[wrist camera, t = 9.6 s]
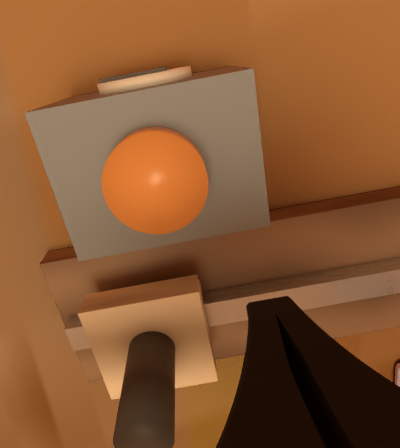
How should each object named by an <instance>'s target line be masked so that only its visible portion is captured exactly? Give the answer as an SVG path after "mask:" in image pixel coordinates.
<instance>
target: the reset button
mask: <svg viewBox="0 0 400 448" xmlns="http://www.w3.org/2000/svg"><path fill="white" fill-rule="evenodd" d="M101 183H102V191H103V196H104V199H105V201H106V203H107V205H108V207H109V209H110V210H111V212H112V213H113V214H114V215H115V216H116V218H117V219H118V220H120V221H121V222H122V223H123V224H125V225H126V226H128V227H130V228H132V229H134V230H136V231H139V232H142V233H147V234H167V233H171V232H174V231H177V230H179V229H181V228H183V227H185V226H187V225H188V224H189V223H191V222H192V221H193V220H194V219H195V218H196V217H197V216H198V214H199V213H200V212H201V210H202V208H203V206H204V204H205V202H206V199H207V195H208V184H209V183H208V175H207V171H206V167H205V163H204V160H203V158H202V155H201V153H200V152H199V150H198V148H197V147H196V146H195V144H194V143H193V142H192V141H191V140H190V139H188V138H187V137H186V136H185V135H183V134H181V133H180V132H178V131H175V130H173V129H170V128H166V127H157V126H152V127H145V128H141V129H138V130H136V131H133V132H132V133H130V134H128V135H127V136H126V137H124V138H123V139H122V140H121V141H120V142H119V143H118V144H117V146H116V147H115V148H114V150H113V151H112V153H111V154H110V155H109V157H108V159H107V161H106V163H105V165H104V168H103V172H102V182H101Z"/></svg>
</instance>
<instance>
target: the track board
mask: <svg viewBox="0 0 400 448" xmlns="http://www.w3.org/2000/svg"><path fill="white" fill-rule="evenodd" d="M269 216H270V226H268V227H263V228H257V229H252V230H246V231H241V232H236V233H230V234H225V235H219V236H214V237H208V238H203V239H198V240H192V241H187V242H181V243H176V244H170V245H165V246H160V247H154V248H149V249H143V250H138V251H132V252H127V253H121V254H116V255H111V256H105V257H100V258H94V259H89V260H83V261H78V258H77V255H76V252H75V250H74V247H69V248H64V249H59V250H53V251H48V253H47V254H46V256H45V257H44V258H43V260H42V261H41V263H40V264H39V265H40V267H41V269H42V272H43V274H44V276H45V279H46V281H47V284H48V286H49V288H50V291H51V293H52V296H53V298H54V300H55V303H56V305H57V307H58V310H59V312H60V315H61V317H62V319H63V322H64V324H65V327H66V324H67V322H68V320H69V317H70V316H73V315H78V312H79V309H80V307H81V304H82V302H83V299H84V297H85V295H86V294H92V293H97V292H103V291H108V290H114V289H119V288H125V287H130V286H135V285H141V284H146V283H152V282H157V281H163V280H168V279H174V278H179V277H185V276H190V275H196V274H197V276H198V279H200V283H201V288H202V292H206V291H211V290H217V289H222V288H228V287H233V286H239V285H245V284H250V283H256V282H261V281H267V280H272V279H278V278H283V277H289V276H294V275H300V274H305V273H311V272H316V271H322V270H328V269H333V268H339V267H344V266H350V265H355V264H361V263H366V262H372V261H377V260H383V259H388V258H394V257H399V256H400V186H399V187H394V188H388V189H383V190H377V191H372V192H366V193H361V194H356V195H350V196H345V197H339V198H334V199H329V200H323V201H318V202H312V203H307V204H302V205H296V206H291V207H285V208H280V209H275V210H269ZM303 311H304V312H305V313H306V314H307V315H308V316H309V317H310V318H311V319H312V320H313V321H314V322H315V323H316V324H317V325H318V326H319V327H320V328H321V329H323V330H324V331H325V332H326V333H327V334H328V335H329V336H331V337H332V338H333V339H334V338H340V337H345V336H351V335H357V334H362V333H368V332H374V331H379V330H385V329H391V328H396V327H400V293H396V294H391V295H385V296H379V297H374V298H368V299H363V300H357V301H351V302H346V303H340V304H335V305H329V306H323V307H318V308H312V309H307V310H303ZM210 331H211V339H212V346H213V351H214V356H215V359H221V358H226V357H232V356H238V355H243V354H245V352H246V344H247V335H248V320H245V321H239V322H234V323H228V324H223V325H217V326H211V327H210ZM76 353H77V355H78V358H79V360H80V362H81V365H82V367H83V369H84V372H85V374H86V377H87V379H88V381H89V382H90V381H96V380H102V379H103V377H102V374H101V372H100V369H99V367H98V364H97V361H96V359H95V356H94V354H93V351H92V349H91V348H88V349H82V350H77V351H76Z"/></svg>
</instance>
